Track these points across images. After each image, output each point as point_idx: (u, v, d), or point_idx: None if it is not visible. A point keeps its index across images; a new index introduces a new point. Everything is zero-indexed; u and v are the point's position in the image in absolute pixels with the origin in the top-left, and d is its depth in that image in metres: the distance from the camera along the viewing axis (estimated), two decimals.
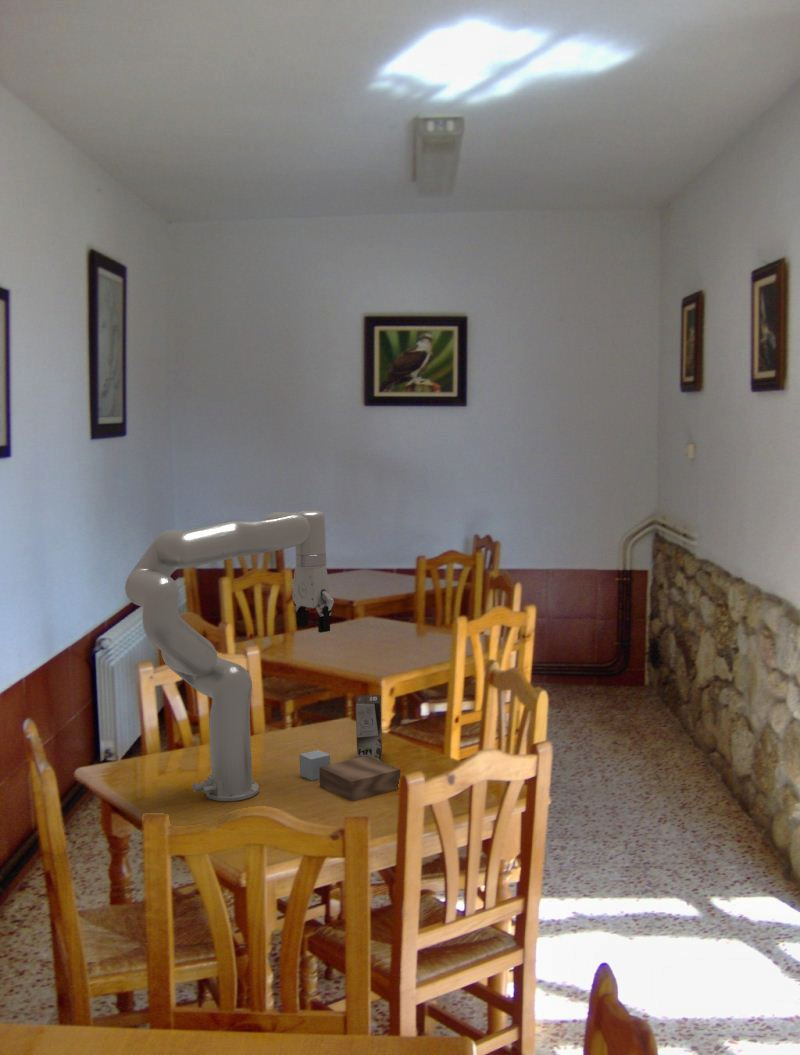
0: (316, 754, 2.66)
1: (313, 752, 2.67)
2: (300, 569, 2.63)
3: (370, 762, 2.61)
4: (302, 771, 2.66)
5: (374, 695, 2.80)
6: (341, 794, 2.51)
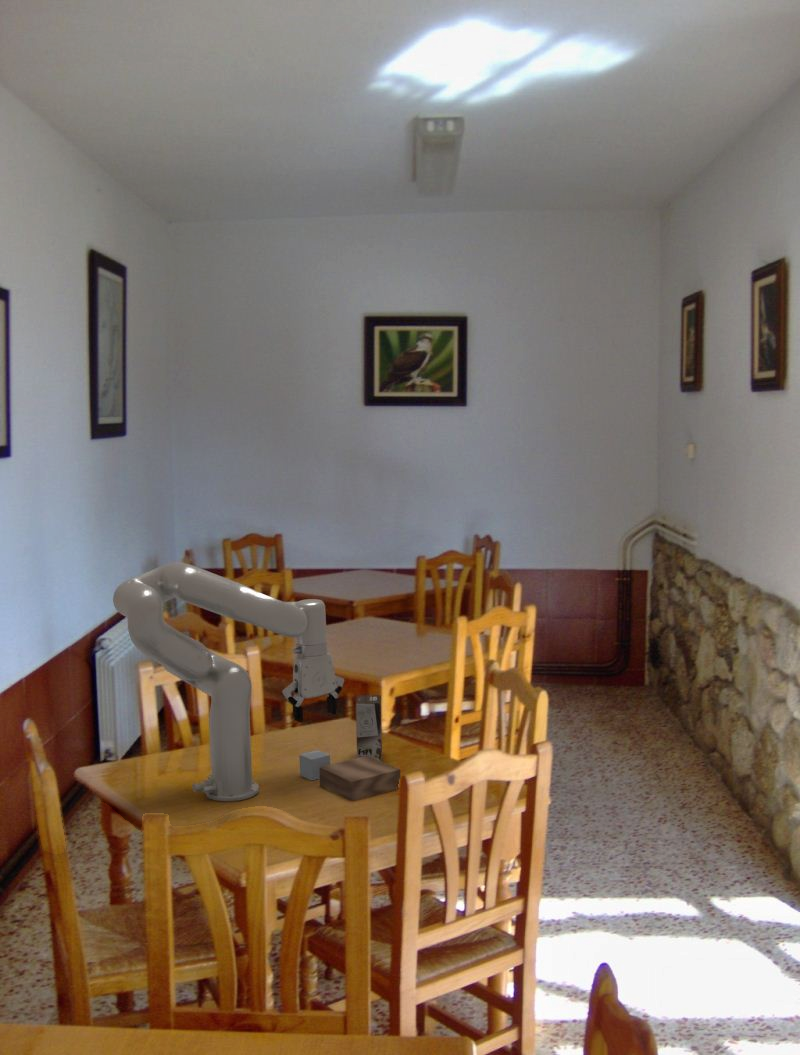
0: (316, 754, 2.66)
1: (313, 752, 2.67)
2: (315, 659, 2.61)
3: (370, 762, 2.61)
4: (302, 771, 2.66)
5: (374, 695, 2.80)
6: (341, 794, 2.51)
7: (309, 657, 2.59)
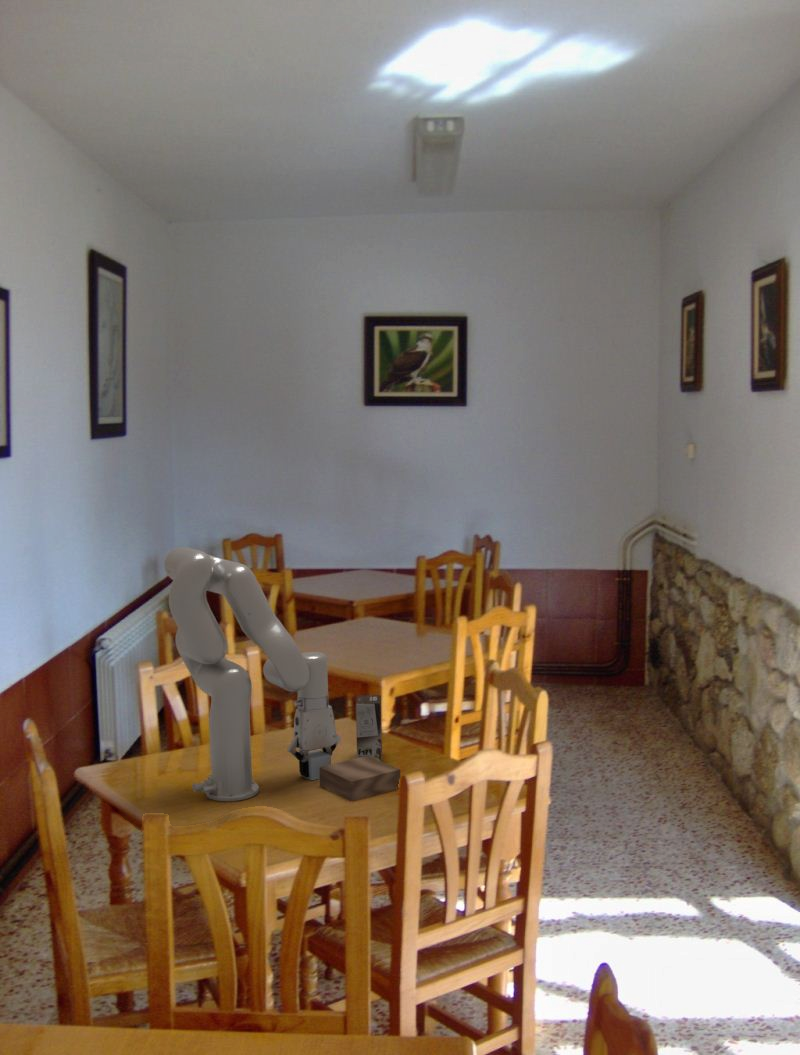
0: (316, 753, 2.66)
1: (313, 752, 2.67)
2: (316, 712, 2.62)
3: (370, 762, 2.61)
4: None
5: (374, 695, 2.80)
6: (341, 794, 2.51)
7: (310, 710, 2.60)
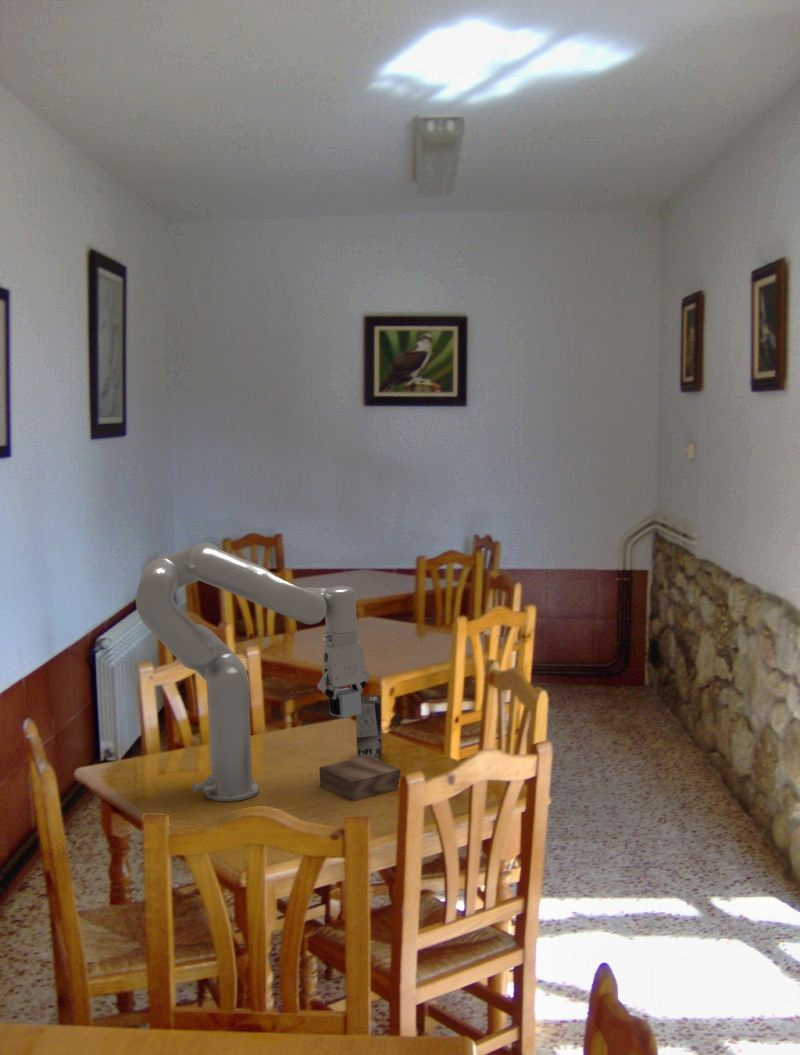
0: (346, 691, 2.58)
1: (342, 689, 2.60)
2: (346, 647, 2.54)
3: (370, 762, 2.61)
4: None
5: (374, 695, 2.80)
6: (341, 794, 2.51)
7: (340, 645, 2.53)
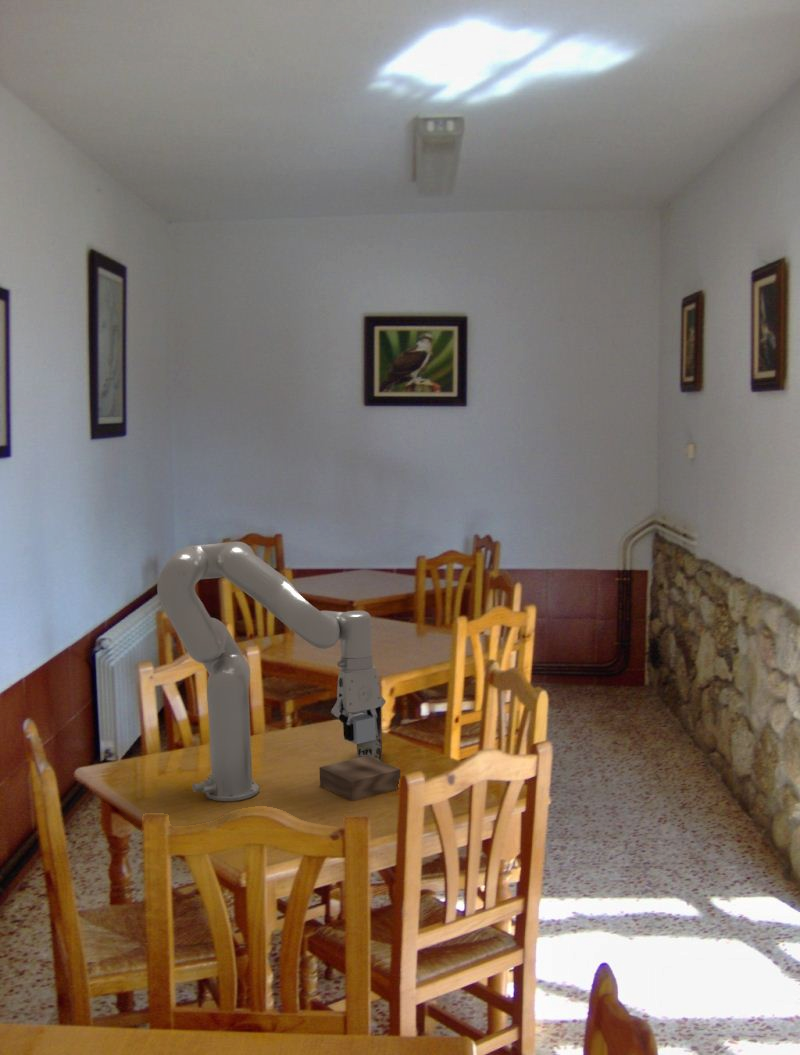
0: (361, 716, 2.56)
1: (357, 715, 2.57)
2: (361, 673, 2.52)
3: (370, 762, 2.61)
4: None
5: None
6: (341, 794, 2.51)
7: (354, 671, 2.50)
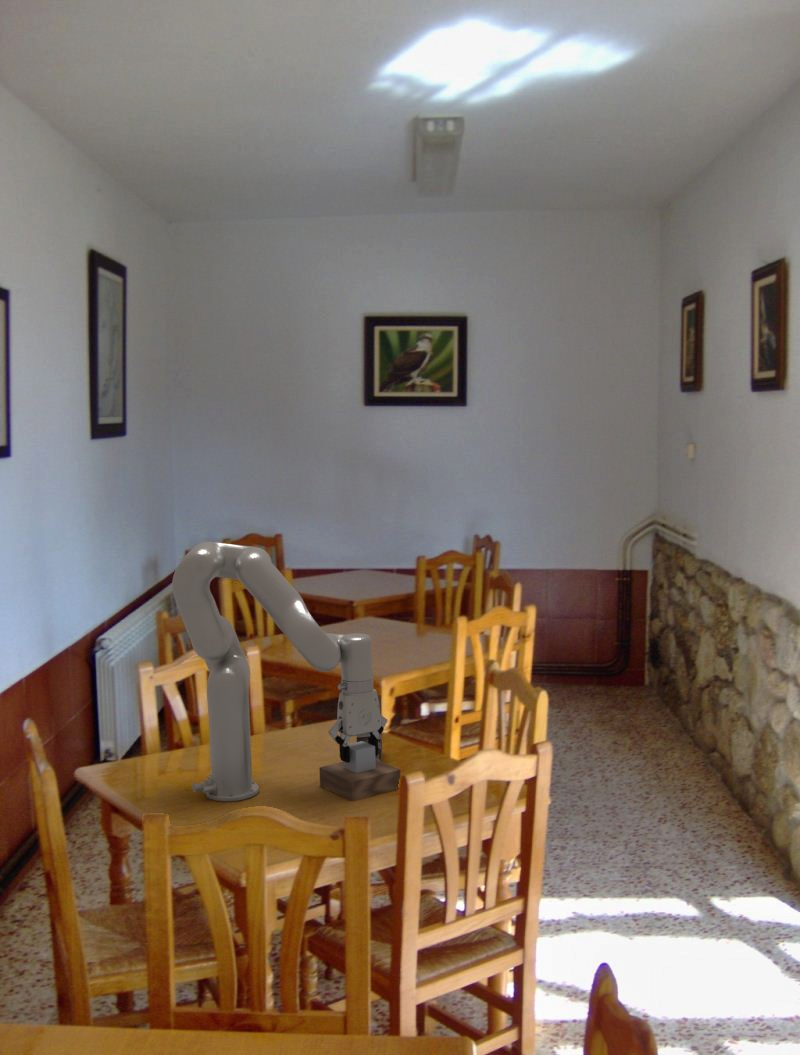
0: (361, 745, 2.57)
1: (357, 743, 2.58)
2: (361, 696, 2.52)
3: None
4: (346, 763, 2.56)
5: None
6: (341, 794, 2.51)
7: (355, 694, 2.51)
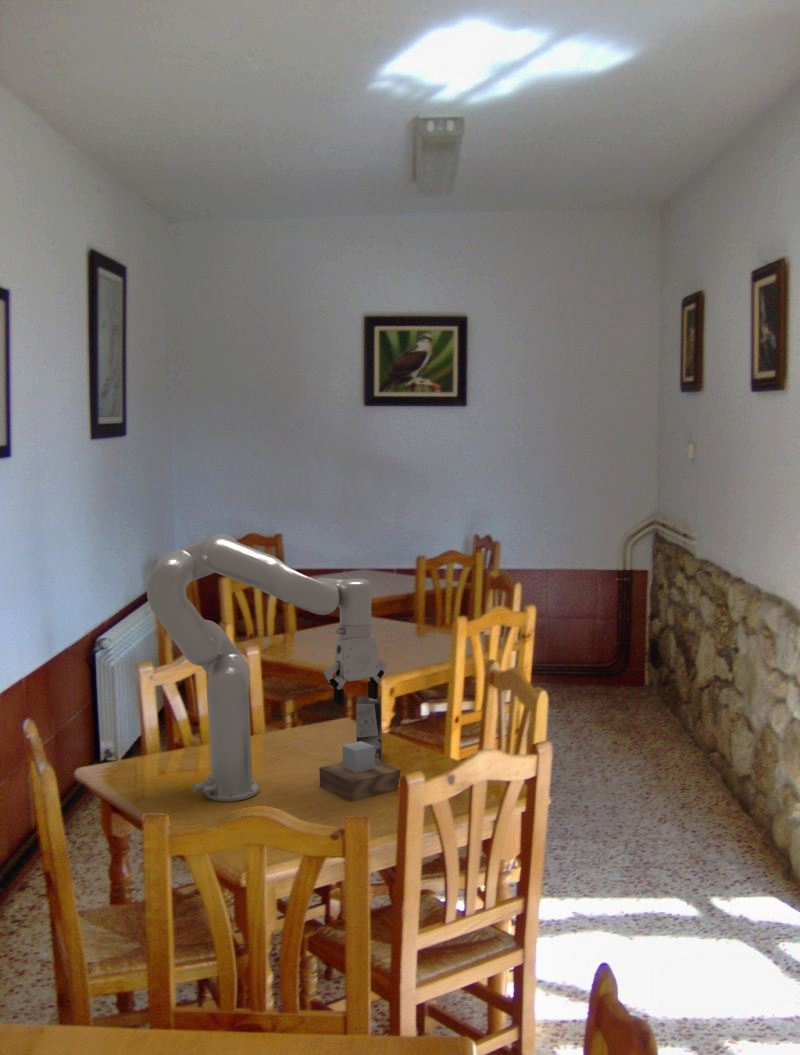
0: (360, 745, 2.57)
1: (356, 743, 2.58)
2: (359, 640, 2.51)
3: None
4: (345, 763, 2.56)
5: None
6: (341, 794, 2.51)
7: (353, 638, 2.50)
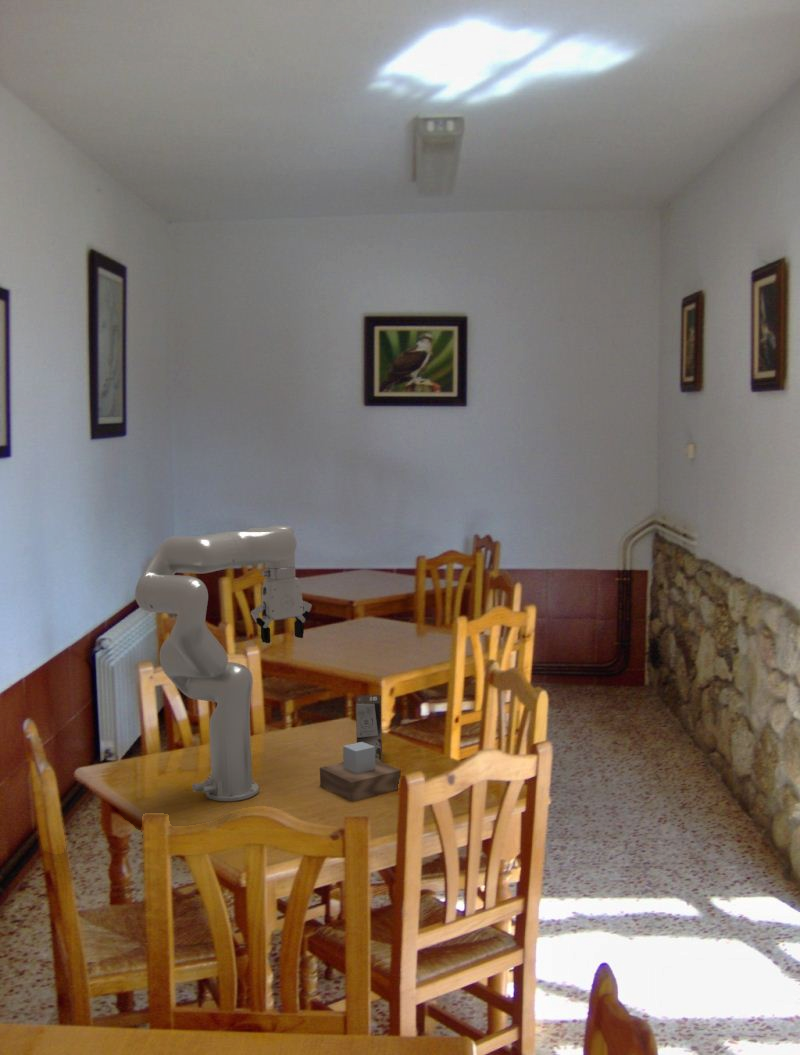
0: (360, 745, 2.56)
1: (357, 744, 2.58)
2: (283, 582, 2.70)
3: None
4: (345, 764, 2.56)
5: (374, 695, 2.80)
6: (341, 795, 2.50)
7: (277, 580, 2.69)
